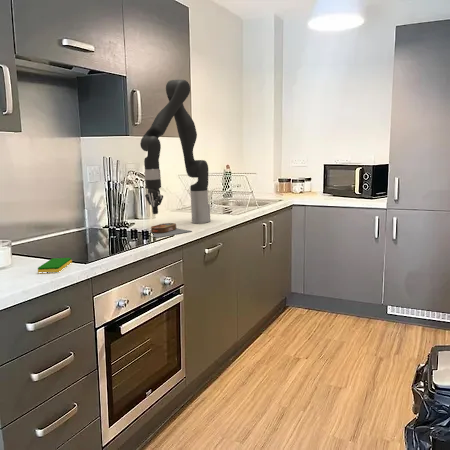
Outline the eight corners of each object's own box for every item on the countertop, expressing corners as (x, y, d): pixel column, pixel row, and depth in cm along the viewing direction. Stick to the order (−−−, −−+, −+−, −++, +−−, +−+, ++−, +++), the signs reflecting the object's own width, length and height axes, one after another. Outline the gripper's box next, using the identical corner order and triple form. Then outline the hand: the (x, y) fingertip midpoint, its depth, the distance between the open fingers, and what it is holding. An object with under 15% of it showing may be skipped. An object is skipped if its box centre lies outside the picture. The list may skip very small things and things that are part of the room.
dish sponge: (37, 274, 157) (37, 267, 156) (52, 264, 171) (52, 258, 170) (59, 274, 157) (58, 266, 156) (72, 263, 170) (71, 257, 170)
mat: (174, 228, 235) (174, 227, 235) (191, 231, 225) (191, 230, 225) (140, 234, 222) (140, 233, 222) (156, 238, 212) (156, 237, 212)
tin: (165, 222, 236) (179, 222, 232) (165, 229, 237) (179, 228, 233) (147, 227, 223) (161, 227, 219) (148, 234, 224) (162, 233, 220)
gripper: (167, 178, 223) (169, 214, 227) (151, 177, 233) (154, 211, 236) (153, 179, 219) (156, 216, 222) (138, 178, 228) (141, 213, 231)
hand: (155, 213), depth 229 cm, fingers closed
